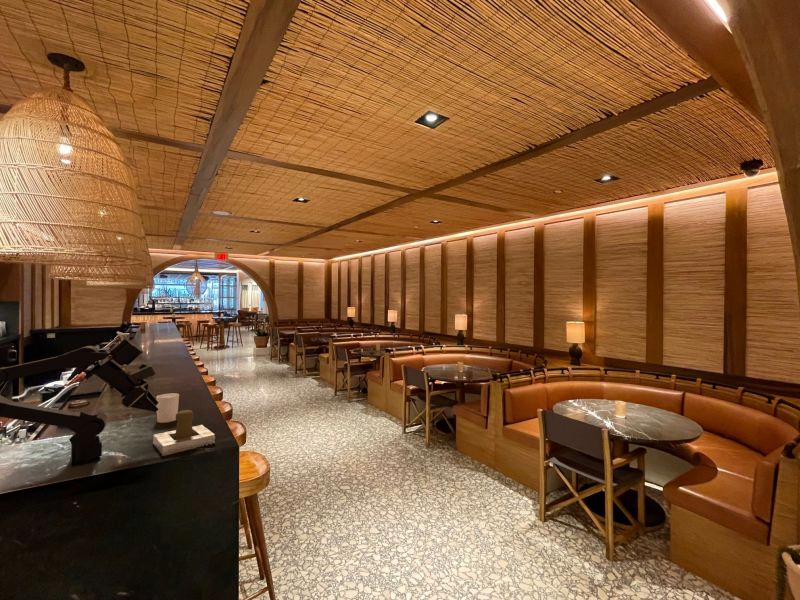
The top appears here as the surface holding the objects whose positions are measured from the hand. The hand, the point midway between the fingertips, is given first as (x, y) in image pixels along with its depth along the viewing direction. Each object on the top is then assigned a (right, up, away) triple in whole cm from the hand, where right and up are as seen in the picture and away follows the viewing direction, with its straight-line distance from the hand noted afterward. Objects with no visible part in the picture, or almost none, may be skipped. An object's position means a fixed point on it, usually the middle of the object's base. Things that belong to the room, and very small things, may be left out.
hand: (157, 407), depth 118 cm
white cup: (-15, -14, +29) cm, 36 cm away
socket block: (+6, -13, +4) cm, 15 cm away
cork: (+6, -14, +4) cm, 16 cm away
